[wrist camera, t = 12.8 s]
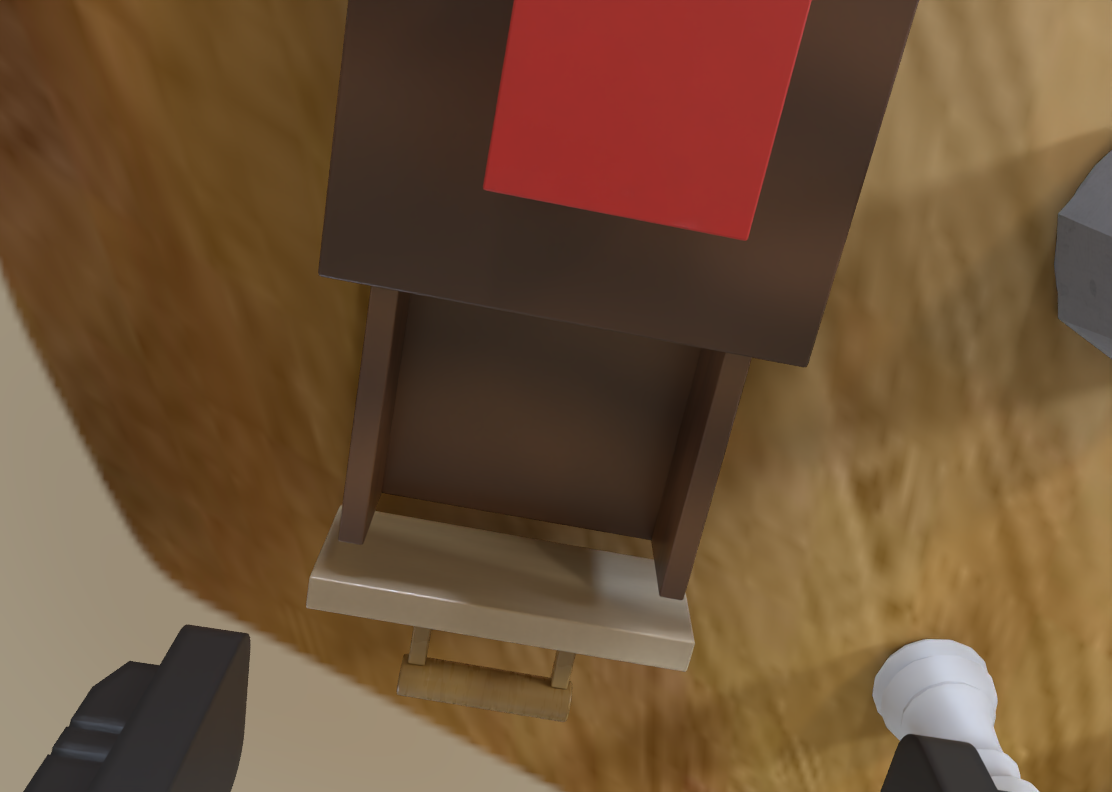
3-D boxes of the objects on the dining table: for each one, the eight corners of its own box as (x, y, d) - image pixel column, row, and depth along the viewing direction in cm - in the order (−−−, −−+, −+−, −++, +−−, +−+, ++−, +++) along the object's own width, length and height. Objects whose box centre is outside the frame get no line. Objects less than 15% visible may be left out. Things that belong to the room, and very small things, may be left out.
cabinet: (766, 298, 35) (807, 369, 29) (361, 221, 34) (316, 276, 28) (903, -189, 30) (990, -229, 23) (426, -296, 29) (387, -366, 23)
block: (506, 127, 27) (482, 190, 19) (542, -86, 25) (531, -108, 17) (698, 166, 27) (747, 241, 19) (748, -42, 25) (824, -45, 18)
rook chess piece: (929, 743, 42) (1007, 910, 35) (845, 690, 41) (905, 849, 34) (1009, 668, 41) (1107, 825, 33) (923, 611, 40) (1005, 759, 32)
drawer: (647, 683, 40) (657, 773, 36) (323, 629, 39) (292, 714, 35) (771, 235, 33) (802, 276, 29) (384, 159, 33) (355, 190, 28)
